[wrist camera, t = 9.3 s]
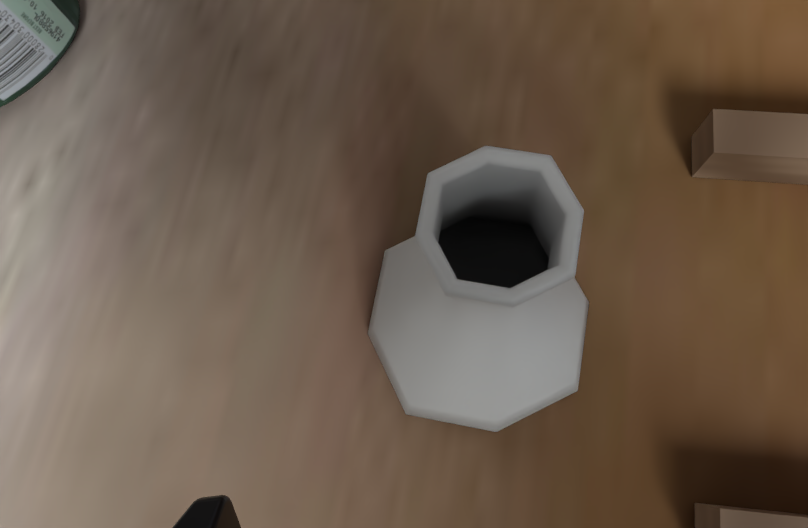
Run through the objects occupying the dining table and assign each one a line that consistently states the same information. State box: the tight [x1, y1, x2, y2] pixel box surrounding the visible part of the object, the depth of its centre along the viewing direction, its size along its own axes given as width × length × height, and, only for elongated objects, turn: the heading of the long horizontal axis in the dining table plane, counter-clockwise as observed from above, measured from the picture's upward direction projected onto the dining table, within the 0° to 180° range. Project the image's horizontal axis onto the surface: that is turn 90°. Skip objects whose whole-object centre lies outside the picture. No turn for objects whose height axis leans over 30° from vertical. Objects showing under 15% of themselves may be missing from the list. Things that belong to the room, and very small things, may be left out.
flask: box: [368, 146, 589, 432], centre depth 18 cm, size 7×7×10 cm
